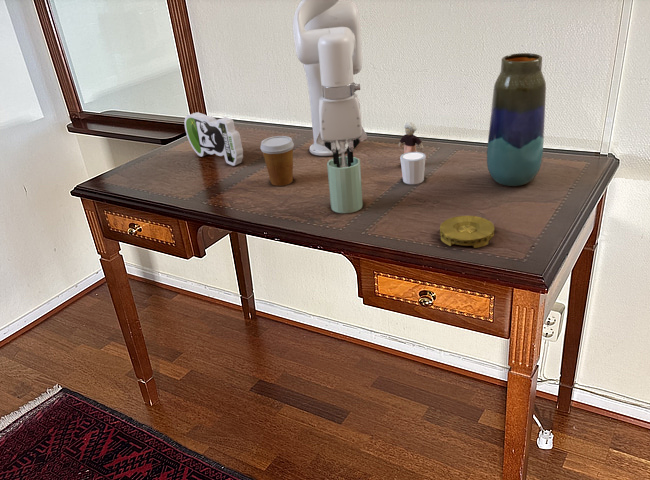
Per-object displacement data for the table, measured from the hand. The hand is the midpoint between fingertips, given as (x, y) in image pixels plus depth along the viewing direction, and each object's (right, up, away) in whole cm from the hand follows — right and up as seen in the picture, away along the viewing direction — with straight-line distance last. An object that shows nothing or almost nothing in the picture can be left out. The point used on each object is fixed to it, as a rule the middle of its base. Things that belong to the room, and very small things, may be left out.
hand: (343, 165), depth 157 cm
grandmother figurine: (+20, +5, +25) cm, 33 cm away
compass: (+28, -19, -13) cm, 36 cm away
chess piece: (0, -2, +1) cm, 2 cm away
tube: (+1, -9, +6) cm, 11 cm away
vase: (+45, -2, +10) cm, 46 cm away
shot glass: (+20, -1, +16) cm, 26 cm away
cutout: (-39, +12, +46) cm, 61 cm away
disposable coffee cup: (-17, 0, +24) cm, 30 cm away
